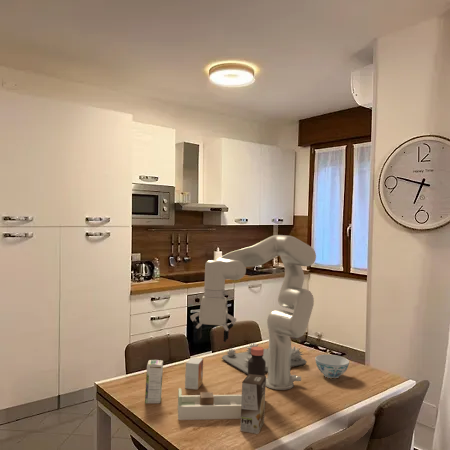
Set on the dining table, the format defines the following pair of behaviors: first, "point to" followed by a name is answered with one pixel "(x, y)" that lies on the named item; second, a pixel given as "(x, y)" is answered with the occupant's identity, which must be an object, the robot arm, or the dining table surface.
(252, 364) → the bottle
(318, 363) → the chinaware
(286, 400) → the dining table surface
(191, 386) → the small box
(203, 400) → the walnut block
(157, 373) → the syrup box
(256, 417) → the coffee box
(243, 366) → the decorative tray
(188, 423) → the dining table surface
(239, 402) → the tray
